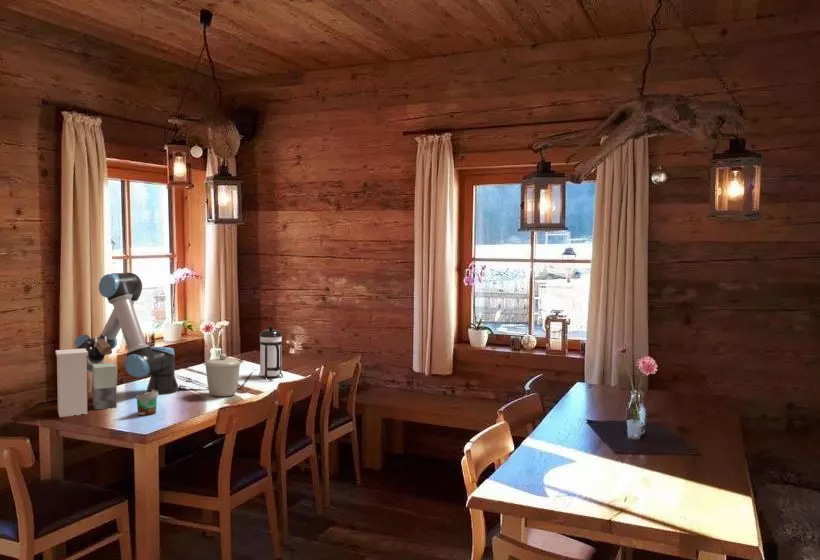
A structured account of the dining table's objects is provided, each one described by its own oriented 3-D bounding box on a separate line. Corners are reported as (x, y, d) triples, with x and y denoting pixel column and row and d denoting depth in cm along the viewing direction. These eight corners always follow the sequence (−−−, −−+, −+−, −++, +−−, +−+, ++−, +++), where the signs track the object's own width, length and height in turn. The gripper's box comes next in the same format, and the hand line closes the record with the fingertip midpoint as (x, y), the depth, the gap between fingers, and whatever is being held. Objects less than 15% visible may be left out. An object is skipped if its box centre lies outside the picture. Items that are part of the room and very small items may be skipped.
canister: (240, 398, 332) (240, 356, 331) (202, 399, 328) (202, 357, 327) (241, 390, 350) (241, 350, 349) (205, 391, 346) (205, 351, 345)
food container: (148, 417, 293) (148, 395, 293) (136, 416, 294) (135, 394, 294) (164, 411, 305) (164, 389, 305) (152, 410, 306) (151, 388, 306)
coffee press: (251, 378, 379) (251, 326, 377) (266, 373, 394) (266, 323, 392) (278, 381, 374) (278, 328, 372) (292, 375, 389) (292, 324, 387)
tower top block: (113, 383, 318) (113, 362, 317) (116, 387, 309) (116, 366, 309) (92, 384, 313) (92, 364, 313) (95, 389, 305) (94, 368, 304)
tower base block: (113, 403, 318) (113, 383, 318) (116, 407, 310) (116, 387, 309) (92, 405, 314) (92, 384, 313) (95, 410, 305) (95, 389, 305)
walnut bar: (102, 345, 326) (102, 338, 326) (110, 354, 302) (110, 346, 302) (94, 345, 324) (94, 338, 324) (102, 355, 300) (102, 347, 300)
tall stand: (85, 408, 308) (85, 348, 306) (88, 414, 297) (87, 352, 296) (56, 411, 301) (55, 350, 300) (58, 417, 291) (57, 354, 290)
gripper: (114, 362, 338) (120, 345, 320) (78, 364, 329) (82, 347, 312) (113, 348, 341) (119, 330, 323) (77, 350, 332) (81, 332, 314)
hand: (101, 339), depth 317 cm, fingers closed on walnut bar, 3 cm apart
